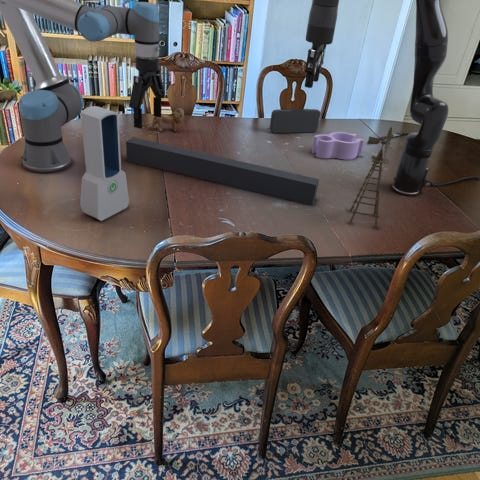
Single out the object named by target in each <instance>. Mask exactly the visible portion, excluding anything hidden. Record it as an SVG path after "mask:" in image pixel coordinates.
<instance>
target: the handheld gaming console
mask: <svg viewBox="0 0 480 480" xmlns="http://www.w3.org/2000/svg"><path fill="white" fill-rule="evenodd" d="M321 115H322V113H321V111H320V110H319V109H316V108H283V109H273V110H272V111H271V114H270V123H269V131H270V132H271V133H272V134H290V133H292V134H293V133H315V132H317V131H318V129H319V123H320V118H321Z"/></svg>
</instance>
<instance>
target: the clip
mask: <svg viewBox="0 0 480 480" xmlns="http://www.w3.org/2000/svg"><path fill="white" fill-rule="evenodd" d="M365 141H366V140H365V139H363V138H357V133H356V132H355V133H354V132H353V133H350V132H344V131H333V132H330V133H329V134H323V133H321V134H315V135H314V138H313V142H312V149H311V154H315V157H316V158H318V159H339V160H344V161H345V160H346V161H347V160H354V159H356V157H358V158H359V157H361V156H362V152H363V148H364V145H365Z"/></svg>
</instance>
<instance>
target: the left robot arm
mask: <svg viewBox="0 0 480 480" xmlns="http://www.w3.org/2000/svg"><path fill="white" fill-rule="evenodd" d="M159 12H160V11H159V7H158V5H157V4H156V3H153V2H148V1H136V2H134V3H133V7H132V8H130V7H121V6H116V5H111V4H98V5H96V8H93V7H91V6H88V5H86V4H84V3H81V2H79V1H76V0H0V14H1V15H2V18H3V20H4V22H5V24H6V26H7V28H8V30H9V31H10V34H11V35H12V37H13V39H14V42H15V44H16V45H17V47H18V49H19V51H20V54H21V55H22V58H23V59H24V61H25V63H26V65H27V68H28V69H29V72H30V73H31V76H32V77H33V79H34V82H35V87H34V91H28V92H25V93H24V94H22V95H21V96H20V98H19V100H18V105H19V107H18V109H19V110H18V111H19V114H20V119H21V125H22V132H23V137H24V148H23V153H22V156H21V157H20V158H21V159H22V160H21V161H22V166H23V168H24V169H25V170H27V171H29V172H33V173H39V174H46V173H56V172H61V171H63V170H66V169H67V168H69V167H70V166H71V163H72V159H71V155H70V153H69V151H68V150H67V149H68V148H67V147H66V145H65V143H64V140H63V132H62V127H63V126H65V125H66V124H68V123H69V122H71V121H74V120H76V119H77V117H78V116H79V115H81V112H82V111H83V110H84V105H85V104H84V103H85V102H84V101H85V100H84V96H83V94H82V93H81V91H80V90H79V88H78V87H77V86H75V85H74V84H72V83H70V80H69V78H68V77H67V76H65V75H63V74H61V72H60V70H59V68H58V65H57V64H56V61H55V60H54V57H53V54H52V53H51V50H50V49H49V47H48V45H47V42H46V41H45V38H44V35H43V34H42V32H41V30H40V28H39V26H38V24H37V21H36V19H35V17H34V15H35V16H37V17H41V18H43V19H45V20H47V21H50V22H52V23H55V24H58V25H60V26H63V27H65V28H67V29H70V30H73V31H75V32H77V33H79V34H80V35H81V37H83V38H84V40H85V41H89V42H93V43H96V42H100V41H101V42H102V41H105V40H106V39H108V38H110V37H113V36H115V35H118V34H119V35H128V36H133V37H134V55H135V58H134V60H135V62H134V63H135V64H134V67H135V69H136V70H137V71H138V75H134V76H133V79H132V80H133V83H132V89H131V94H130V97H129V103H128V107H129V108H131V109H132V110H133V128H136V129H140V130H141V129H143V108H142V104H143V101H144V98H145V95H146V93H147V91H148V90H149V88H150V90H151V91H152V94H153V95H154V96H153V99H152V100H153V101H152V102H153V103H152V105H153V117H155V116H156V117H161V114H162V99H164V98H165V94H166V91H165V87H164V83H163V79H162V75H161V74H162V73H161V71H162V70H161V69H160V59H159V56H160V50H161V48H160V13H159Z"/></svg>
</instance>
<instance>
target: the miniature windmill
mask: <svg viewBox="0 0 480 480" xmlns="http://www.w3.org/2000/svg"><path fill="white" fill-rule="evenodd" d="M392 135H393V126H390V127H389V129H388V131H387V134H386V136H387V138H385V139H381V140H379V139H377V138H378V137H373V136H368V140H367V145H378V144H381V148H380V149H379V151H378V153H377V155H371V158H370V159H371V162H372V163H371V167H370V169H369V170H368V173H367V175H366V176H365V177H364V181H363V182H362V184H361V186H360V188H359V189H358V193H357V194H356V196H355V199H354V200H353V201H352V205H351V207H350V209H349V212H352V215H351V217H350V220H349V224H352V223H353V220H354V218H355V216H356V214H358V215H359V214H360V215H364V216H370V217H375V218H374V228H377V226H378V218H379V217H380V215H379V203H380V200H381V198H380V189H381V185H382V182H381V181H382V172H383V164H384V165H386V164H387V165H389V164H390V161H389V158H388V157H387V154H388V150H389V149H390V148H389V146H390V145H391V141H392V137H391V136H392ZM383 147H384V148H383ZM383 150H384V151H383ZM376 168H379V169H376ZM374 171H375V172H378V176H377V177H374V176H373V174H374ZM371 179H372V180H377V183H373V182H370V181H371ZM369 185H372V186H376V189H370V188H368V186H369ZM366 191H367V192H373V193H375V197H372V196H371V197H370V196H364V195H365V193H366ZM363 199H367V200H368V199H369V200H374V201H375V202H374V203H368V202H362V200H363ZM360 204H362V205H367V206H368V205H369V206H373V207H374V209H373V214H372V213H365V212H360V211H358V209H359V206H360ZM355 205H356V206H355Z"/></svg>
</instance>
